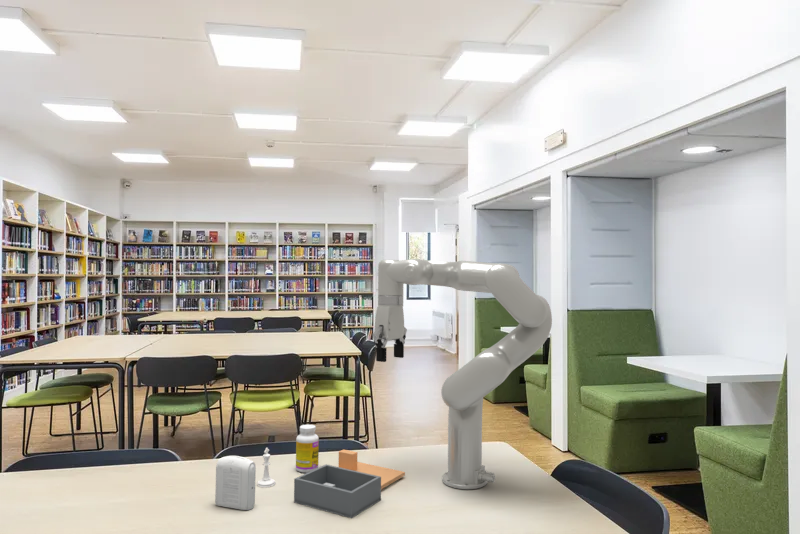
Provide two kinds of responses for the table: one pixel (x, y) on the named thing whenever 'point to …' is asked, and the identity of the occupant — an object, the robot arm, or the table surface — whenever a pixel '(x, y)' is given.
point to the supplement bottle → (307, 449)
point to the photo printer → (235, 482)
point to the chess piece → (266, 472)
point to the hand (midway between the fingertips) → (390, 359)
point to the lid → (368, 468)
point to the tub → (337, 490)
